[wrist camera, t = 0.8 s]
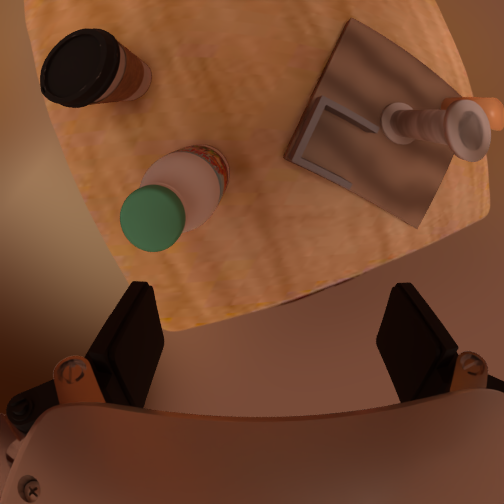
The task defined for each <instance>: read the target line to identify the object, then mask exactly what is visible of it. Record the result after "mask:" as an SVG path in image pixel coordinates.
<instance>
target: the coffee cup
mask: <svg viewBox="0 0 504 504" xmlns="http://www.w3.org/2000/svg"><path fill="white" fill-rule="evenodd" d="M151 76H152V75H151V71H150V68H149V67H148V65H147V64H145V63H144V62H143V61H141V60H140V59H139V58H138V57H137V56H135V55H134V54H133V53H132V52H131V51H129V50H128V49H127V48H126V47H124V46H123V45H122V44H121V43H119V42H118V41H117V40H116V39H115V37H114V36H113V35H111V34H110V33H109V32H107V31H105V30H102V29H81V30H77V31H75V32H73V33H71V34H69V35H67V36H66V37H65V38H63V39H62V40H61V41H60V42H59V43H58V44H57V45H56V46H55V47H54V48H53V49H52V50H51V52H50V53H49V54H48V56H47V58H46V59H45V61H44V64H43V66H42V69H41V75H40V86H41V92H42V94H43V95H44V96H45V97H46V98H47V99H49V100H50V101H52V102H54V103H58V104H61V105H63V106H66V107H72V108H80V107H84V106H87V105H92V104H100V103H108V102H118V101H130V100H135V99H137V98H139V97H141V96H142V95H143V94H144V93H145V92H146V91H147V89H148V88H149V86H150V83H151Z"/></svg>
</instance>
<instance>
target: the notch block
mask: <svg viewBox="0 0 504 504" xmlns="http://www.w3.org/2000/svg"><path fill="white" fill-rule="evenodd" d="M324 109H325V110H327V111H329V112H331V113H333V114H335V115H336V116H338V117H340V118H342V119H344V120H346V121H347V122H349V123H351V124H353V125H355V126H356V127H358V128H360V129H361V130H363V131H365V132H368V133H378V130H379V127H378V126H376V125H374V124H373V123H371V122H370V121H368V120H366V119H365V118H363V117H361V116H359V115H358V114H356V113H354V112H353V111H351V110H349V109H347V108H345V107H344V106H342V105H340V104H338V103H336V102H334V101H332V100H330V99H329V98H327V97H325V96H323V95H322V96H320V97H317V98H316V99H315V101H314V103H313V105H312V107H311V109H310V112H309V114H308V116H307V118H306V120H305V122H304V124H303V126H302V129H301V131H300V133H299V135H298V137H297V139H296V141H295V144H294V146H293V148H292V150H291V152H290V154H289V156H288V159H290V160H291V161H292V162H294V163H296V164H298V165H301V166H303V167H305V168H307V169H309V170H311V171H313V172H315V173H317V174H319V175H321V176H323V177H325V178H327V179H329V180H331V181H333V182H335V183H337V184H339V185H341V186H343V187H345V188H347V189H349V190H350V188H351V186H352V183H351V182H349V181H347V180H346V179H344V178H342V177H341V176H339V175H337V174H335V173H333V172H331V171H329V170H327V169H325V168H323V167H321V166H319V165H317V164H315V163H313V162H311V161H309V160H306V159H304V158H302V154H303V152H304V150H305V148H306V146H307V144H308V142H309V140H310V138H311V135H312V133H313V131H314V129H315V127H316V125H317V123H318V121H319V118H320V116H321V114H322V112H323V110H324Z"/></svg>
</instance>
